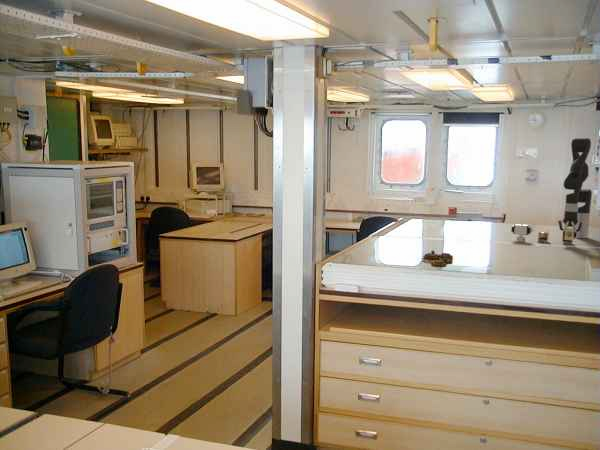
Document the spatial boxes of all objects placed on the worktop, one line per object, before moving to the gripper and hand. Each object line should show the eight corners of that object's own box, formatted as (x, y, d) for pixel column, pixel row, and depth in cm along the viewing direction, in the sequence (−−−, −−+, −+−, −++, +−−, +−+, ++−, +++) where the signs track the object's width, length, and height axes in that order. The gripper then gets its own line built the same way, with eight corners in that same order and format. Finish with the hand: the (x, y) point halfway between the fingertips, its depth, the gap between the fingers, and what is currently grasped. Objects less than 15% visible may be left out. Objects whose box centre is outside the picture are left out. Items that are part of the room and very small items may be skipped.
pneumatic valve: (529, 242, 392) (530, 224, 391) (510, 241, 399) (511, 222, 397) (531, 241, 397) (532, 223, 395) (512, 240, 403) (513, 222, 402)
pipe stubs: (539, 241, 401) (539, 230, 400) (572, 243, 391) (573, 232, 390) (537, 242, 396) (538, 231, 395) (571, 245, 386) (572, 233, 385)
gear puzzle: (452, 268, 309) (453, 260, 308) (420, 266, 312) (420, 259, 312) (452, 258, 338) (453, 250, 338) (423, 256, 342) (423, 249, 342)
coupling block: (565, 238, 385) (566, 227, 384) (574, 239, 383) (574, 228, 382) (564, 239, 379) (565, 228, 378) (573, 240, 377) (573, 229, 376)
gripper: (584, 210, 378) (582, 237, 381) (559, 209, 385) (557, 235, 388) (583, 211, 372) (581, 239, 374) (558, 210, 379) (556, 237, 381)
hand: (569, 237), depth 381 cm, fingers closed on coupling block, 5 cm apart
